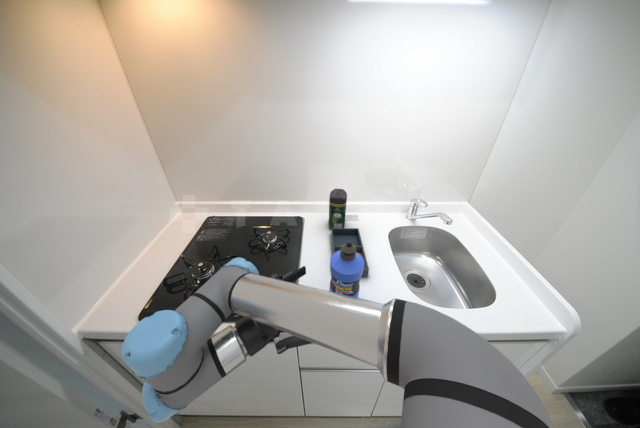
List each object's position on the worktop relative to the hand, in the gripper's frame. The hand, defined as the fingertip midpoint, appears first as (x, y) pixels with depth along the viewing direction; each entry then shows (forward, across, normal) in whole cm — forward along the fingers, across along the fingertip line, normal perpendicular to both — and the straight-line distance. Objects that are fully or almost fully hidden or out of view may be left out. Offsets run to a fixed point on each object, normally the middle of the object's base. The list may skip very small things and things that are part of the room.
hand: (320, 285), depth 54 cm
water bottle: (+10, 0, -16) cm, 19 cm away
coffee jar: (+36, -32, -16) cm, 51 cm away
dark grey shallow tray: (+26, -14, -16) cm, 34 cm away
